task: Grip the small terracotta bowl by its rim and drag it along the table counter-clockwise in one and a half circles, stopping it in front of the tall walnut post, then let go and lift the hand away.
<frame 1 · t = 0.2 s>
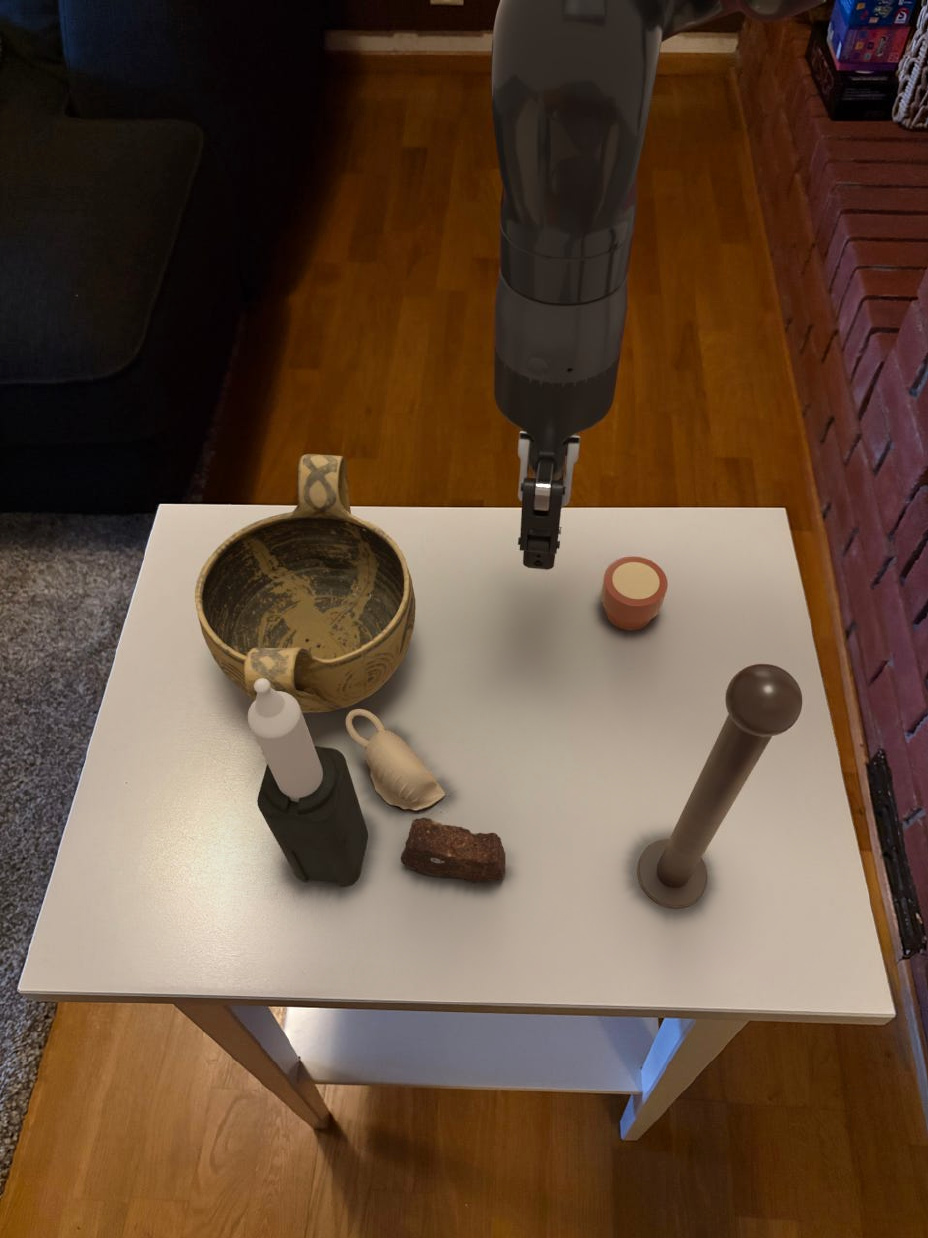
hand: (543, 519, 64), 15 cm above the table, tool pointing down, fingers open, 8 cm apart
walnut post: (711, 798, 53), on the table
terracotta bowl: (628, 611, 78), on the table
ceramic bowl: (324, 660, 76), on the table
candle: (331, 852, 66), on the table
stone: (455, 861, 65), on the table
decorative ornament: (398, 774, 70), on the table
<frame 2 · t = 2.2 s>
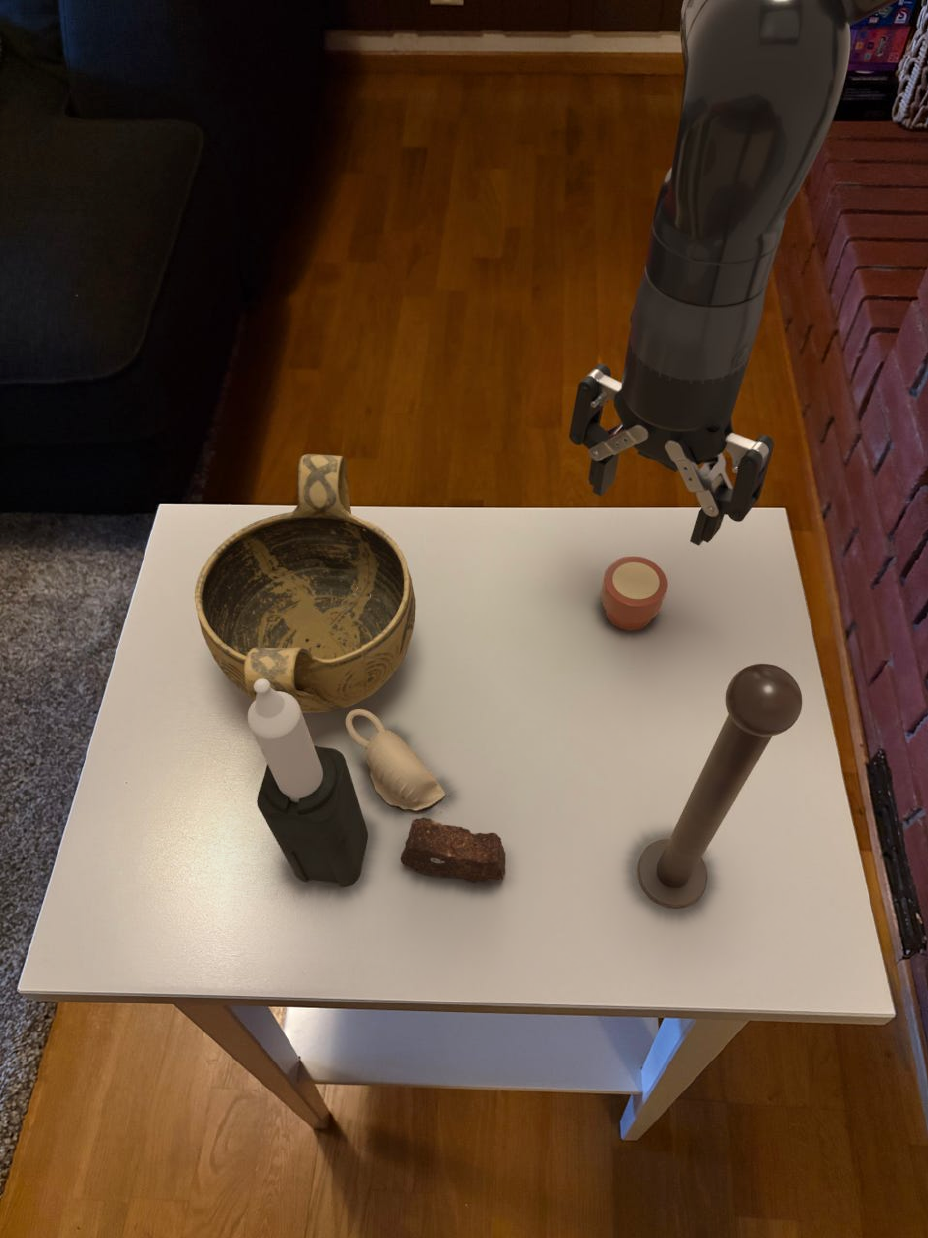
hand: (650, 512, 67), 13 cm above the table, tool pointing down, fingers open, 8 cm apart
nothing on the table moved.
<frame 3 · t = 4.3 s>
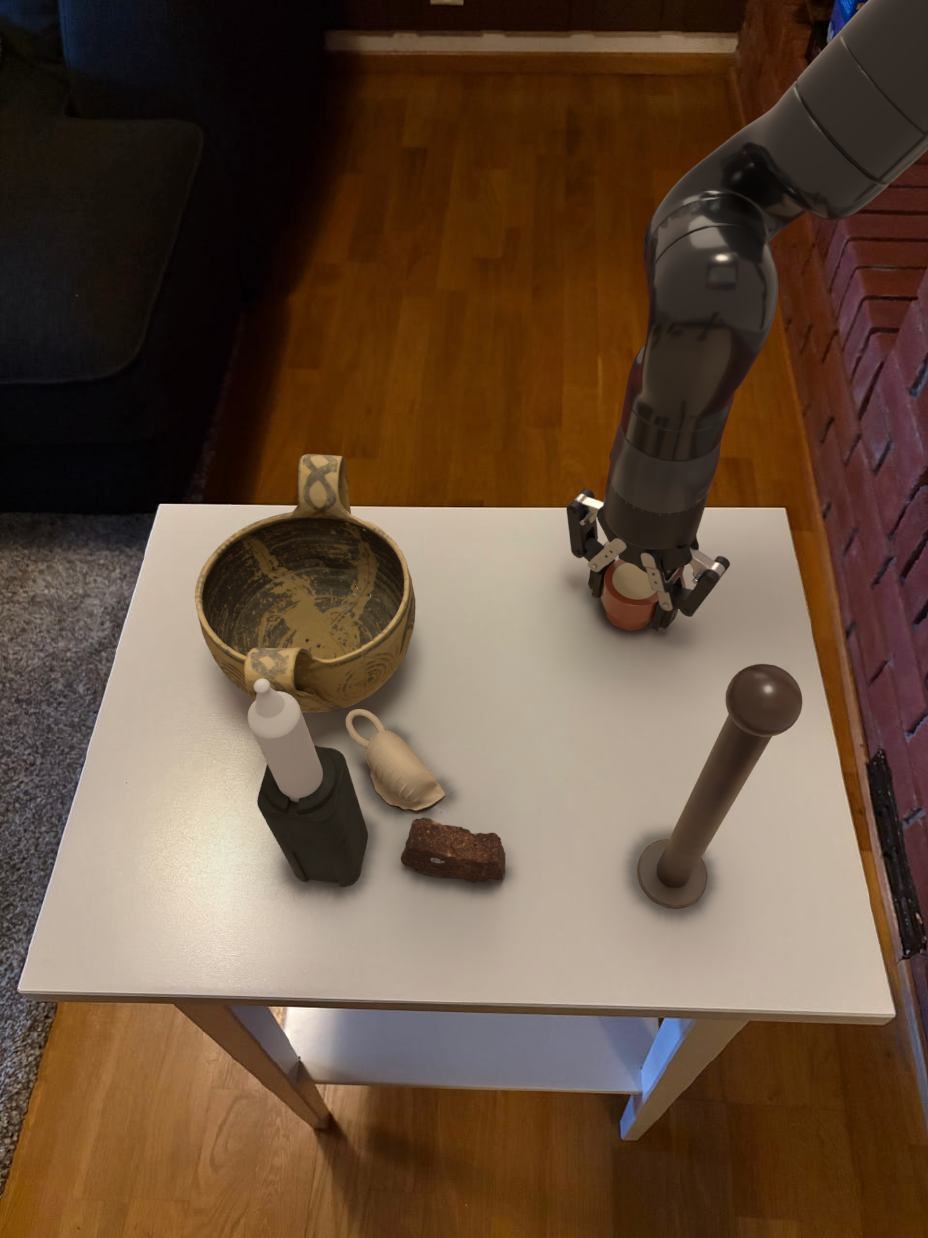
hand: (629, 606, 77), 1 cm above the table, tool pointing down, fingers closed on terracotta bowl, 5 cm apart
terracotta bowl: (628, 611, 78), on the table, touching gripper
everything else where it was.
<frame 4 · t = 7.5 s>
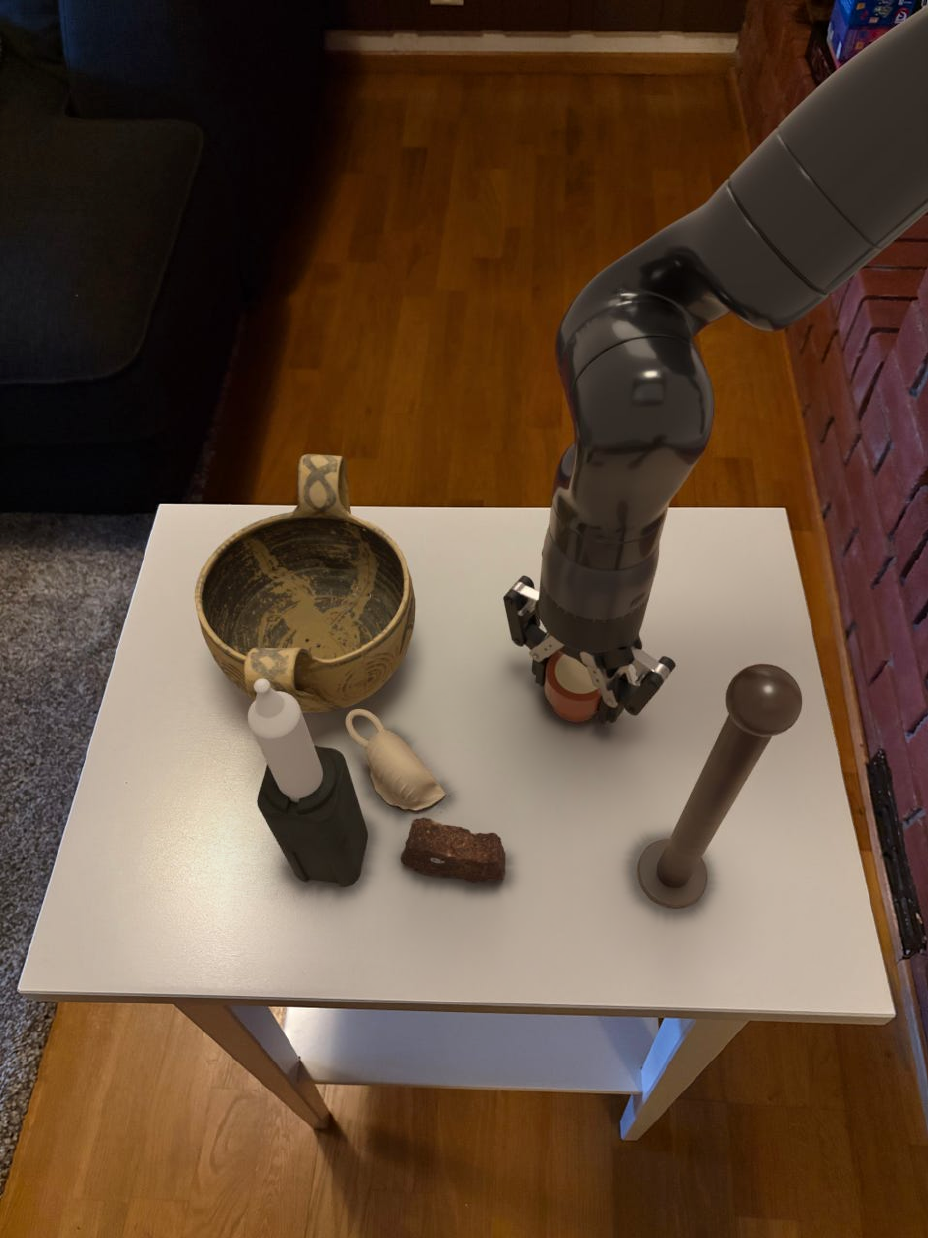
hand: (575, 695, 72), 1 cm above the table, tool pointing down, fingers closed on terracotta bowl, 5 cm apart
terracotta bowl: (575, 699, 73), on the table, touching gripper
everything else where it was.
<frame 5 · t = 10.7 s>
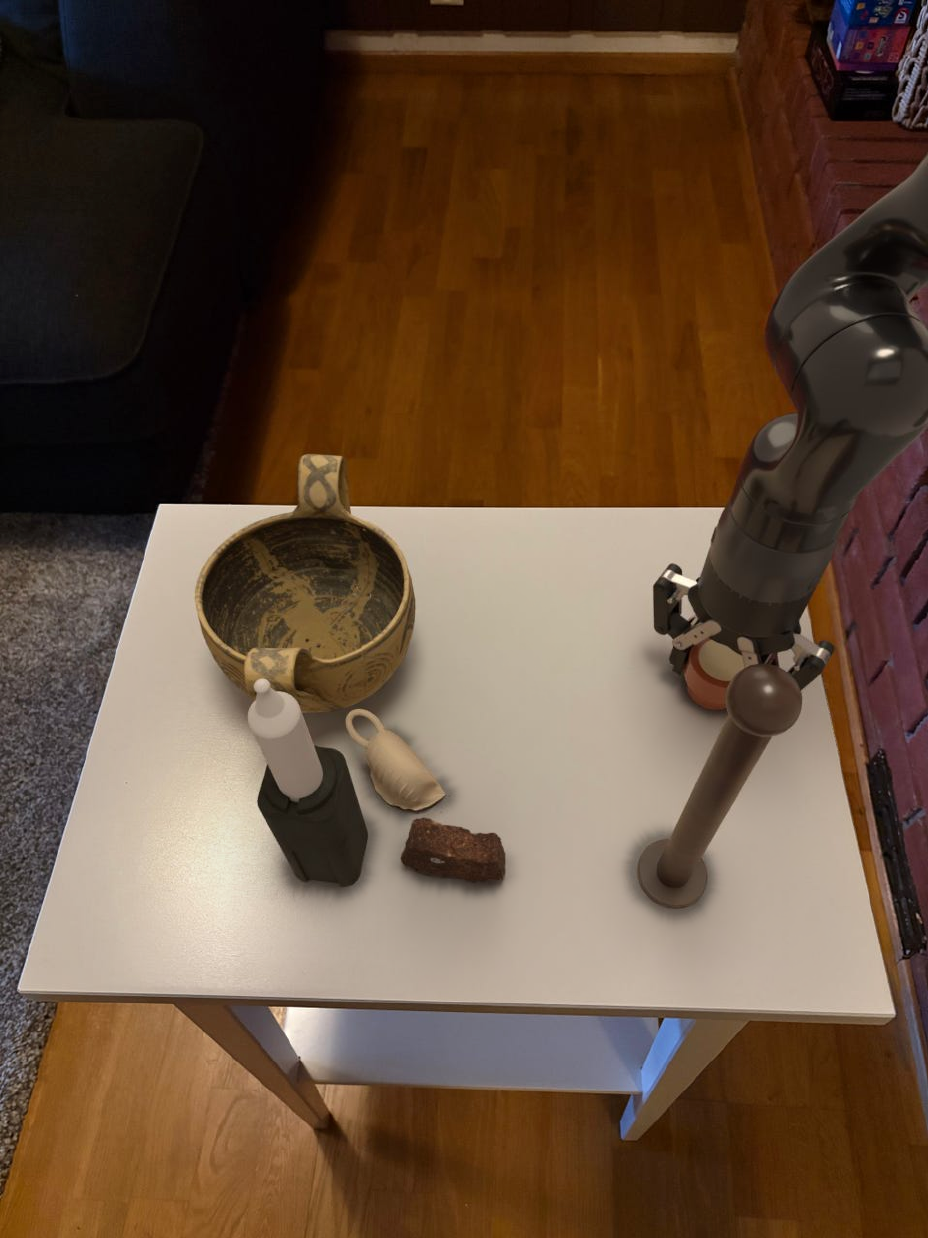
hand: (713, 683, 73), 1 cm above the table, tool pointing down, fingers closed on terracotta bowl, 5 cm apart
terracotta bowl: (711, 688, 73), on the table, touching gripper
everything else where it was.
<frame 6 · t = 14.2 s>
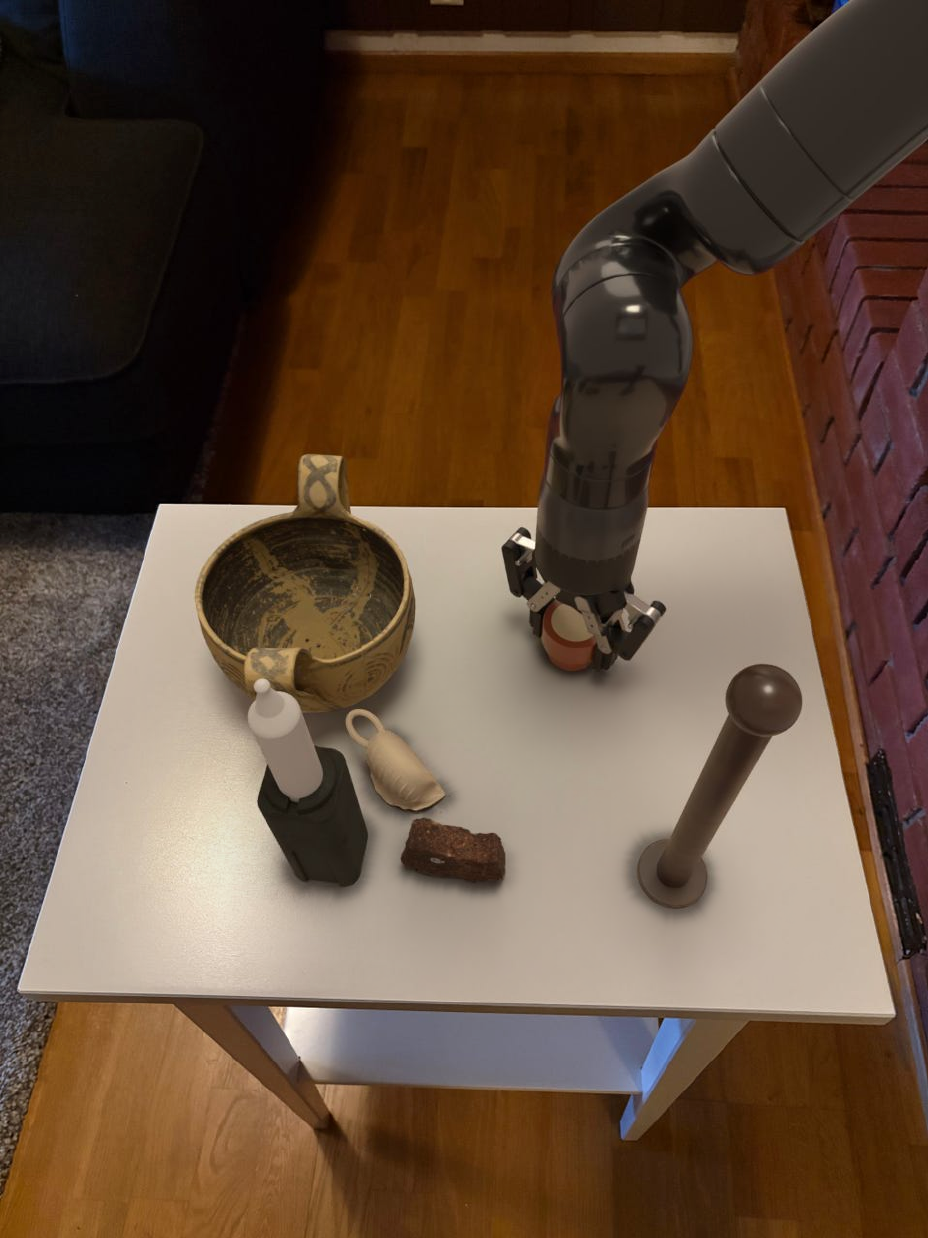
hand: (571, 646, 75), 1 cm above the table, tool pointing down, fingers closed on terracotta bowl, 5 cm apart
terracotta bowl: (571, 650, 76), on the table, touching gripper
everything else where it was.
when the fingers open (1 cm above the table, at t = 17.2 s): terracotta bowl stays where it is, on the table.
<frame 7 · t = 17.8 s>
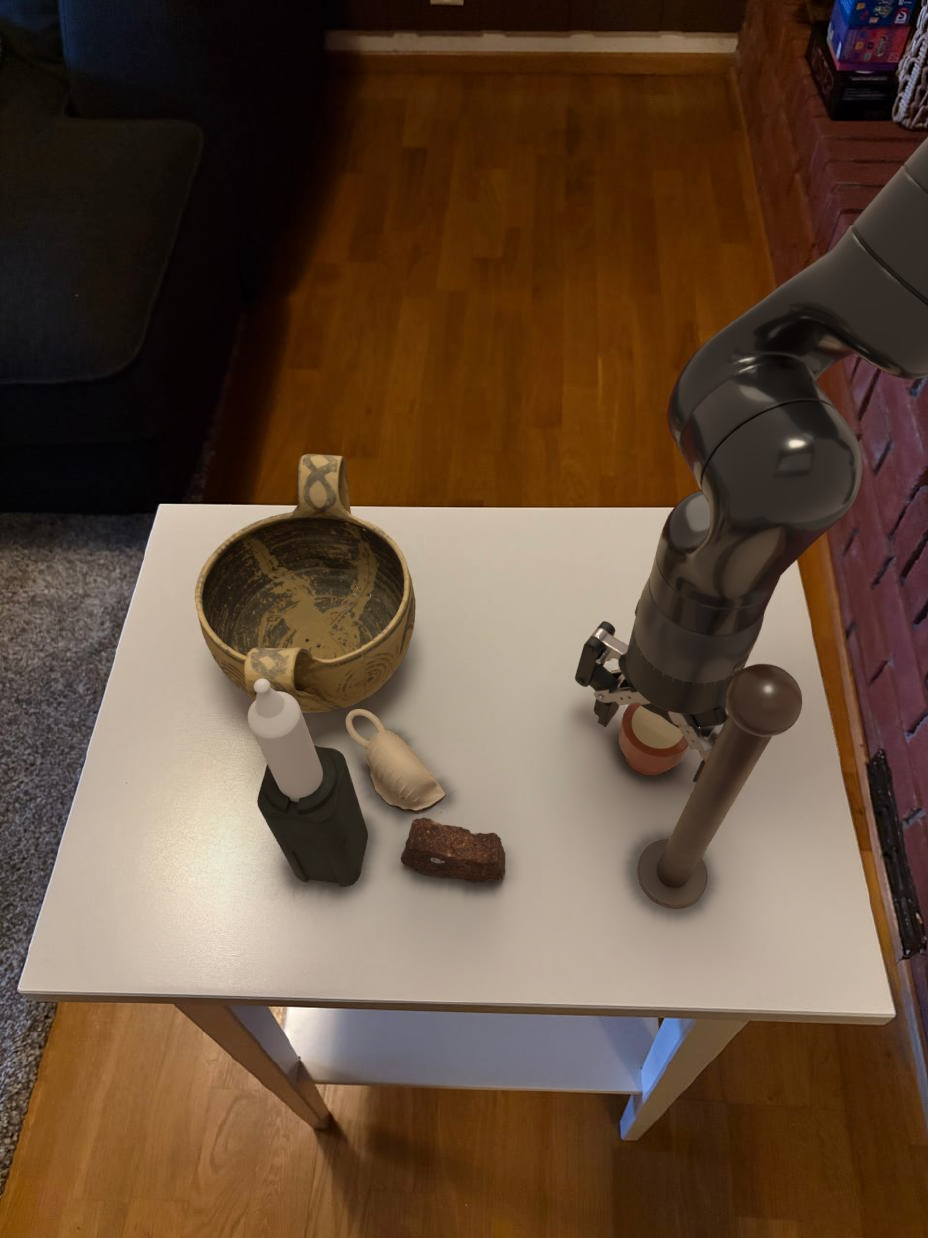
hand: (653, 745, 69), 1 cm above the table, tool pointing down, fingers open, 8 cm apart
terracotta bowl: (648, 751, 70), on the table
everything else where it was.
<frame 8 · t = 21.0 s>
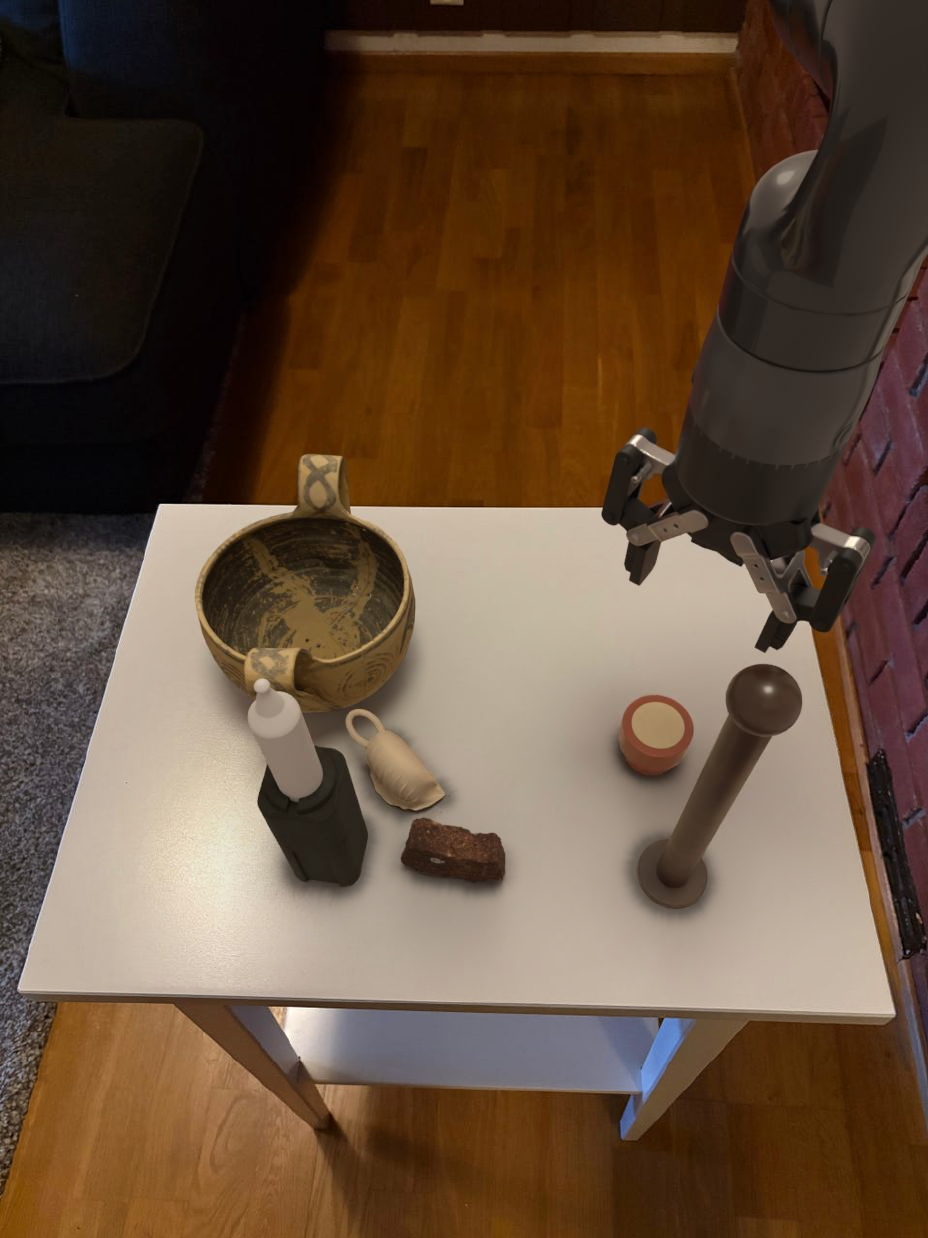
hand: (701, 606, 53), 20 cm above the table, tool pointing down, fingers open, 8 cm apart
nothing on the table moved.
at the end: terracotta bowl inside the target area under the walnut post (0.2 cm from its centre), point -14.0 cm above the walnut post's base; terracotta bowl tilted 0°; the gripper is holding nothing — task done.
